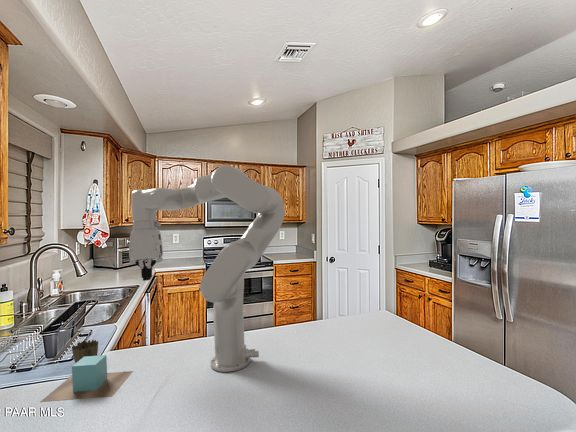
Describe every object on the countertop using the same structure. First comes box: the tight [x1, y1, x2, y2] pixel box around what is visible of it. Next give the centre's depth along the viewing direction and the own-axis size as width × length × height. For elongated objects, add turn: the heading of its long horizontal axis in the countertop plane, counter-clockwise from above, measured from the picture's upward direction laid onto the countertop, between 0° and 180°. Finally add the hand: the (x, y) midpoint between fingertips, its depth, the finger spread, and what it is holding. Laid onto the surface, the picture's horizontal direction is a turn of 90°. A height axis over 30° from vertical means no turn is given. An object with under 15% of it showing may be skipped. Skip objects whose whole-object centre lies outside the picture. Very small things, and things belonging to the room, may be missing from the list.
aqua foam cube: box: [71, 354, 108, 392], centre depth 92 cm, size 6×6×7 cm
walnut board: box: [39, 370, 134, 403], centre depth 92 cm, size 18×14×2 cm
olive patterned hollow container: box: [71, 339, 99, 364], centre depth 107 cm, size 8×7×8 cm
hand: (147, 279), depth 112 cm, fingers closed
